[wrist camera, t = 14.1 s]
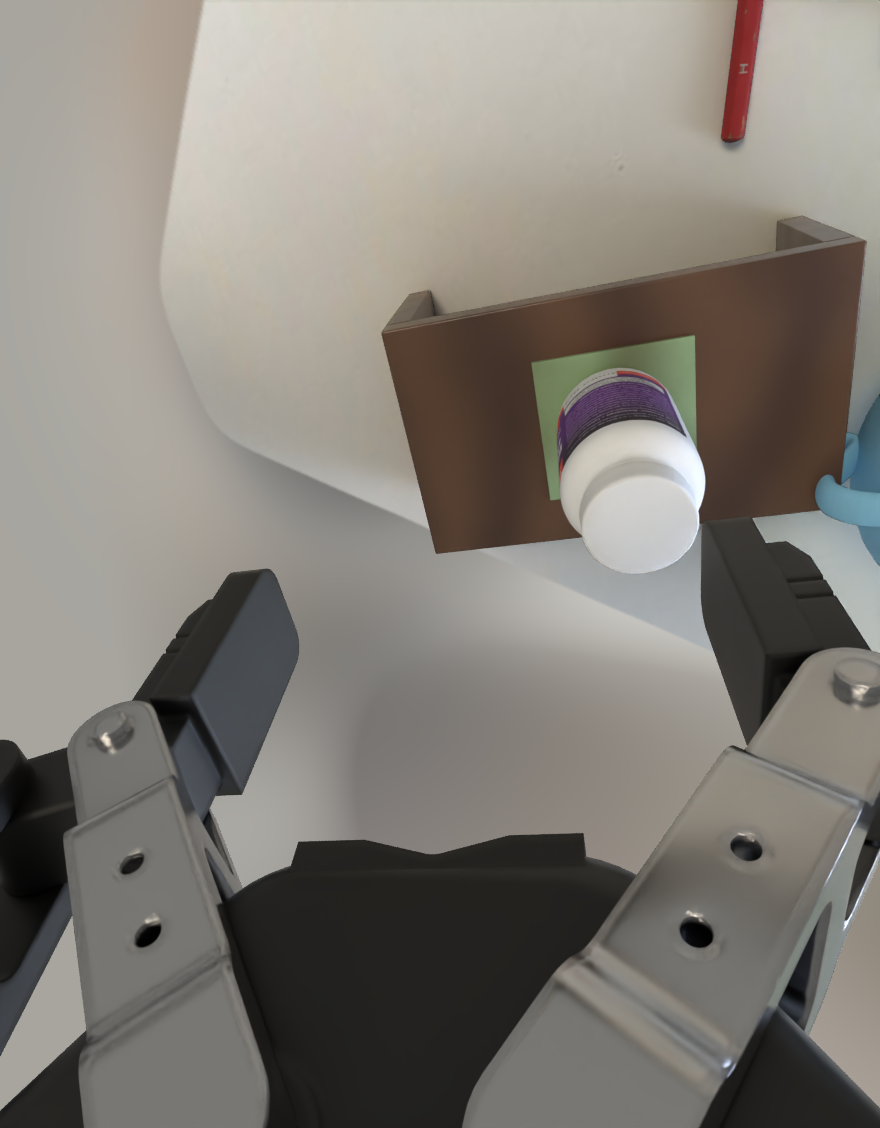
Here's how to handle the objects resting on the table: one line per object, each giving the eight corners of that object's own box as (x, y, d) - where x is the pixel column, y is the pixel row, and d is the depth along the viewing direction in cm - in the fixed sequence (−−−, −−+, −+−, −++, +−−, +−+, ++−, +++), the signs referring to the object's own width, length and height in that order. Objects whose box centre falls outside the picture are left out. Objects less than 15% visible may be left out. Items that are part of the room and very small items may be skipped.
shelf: (451, 488, 44) (435, 556, 37) (408, 293, 38) (379, 333, 31) (789, 442, 40) (840, 510, 33) (803, 215, 34) (869, 241, 27)
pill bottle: (532, 413, 32) (529, 513, 24) (633, 339, 30) (667, 423, 22) (599, 496, 34) (617, 614, 26) (698, 432, 32) (752, 541, 24)
